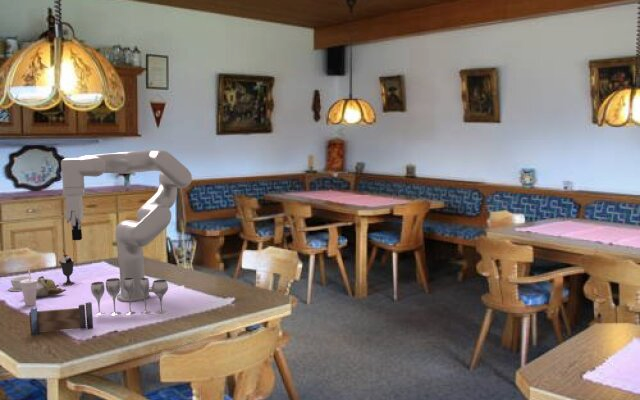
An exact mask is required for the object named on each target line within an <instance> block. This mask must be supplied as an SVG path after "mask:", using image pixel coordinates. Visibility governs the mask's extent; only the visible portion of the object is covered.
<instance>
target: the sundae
mask: <svg viewBox="0 0 640 400" xmlns="http://www.w3.org/2000/svg"><path fill="white" fill-rule="evenodd" d="M62 252H63V253H64V254H63V257H62V259H61V260H60V261H58V263H59V264H60V266H61V270H62V271H61V272H62V274H63V275H64V276H65V277H66V281H65V282H63V283H62V285H63V286H71V285H75V281H71V279H70V276H71V275H72V274H73V271H74V262H75V259H72V258H71V256H69V255H68V254H66V253H65V251H64V249H62Z"/></svg>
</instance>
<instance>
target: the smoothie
mask: <svg viewBox="0 0 640 400" xmlns="http://www.w3.org/2000/svg"><path fill="white" fill-rule="evenodd" d="M27 271H28V277H29V279H26V280H22V281H20V285H21V287H22V291H21V292H22V295H23V299H24V305H25V307H33V306H36V305H37V296H36V291H37V283H38V280H37V279H38V278H31V270H30V269H28V270H27ZM35 304H36V305H35Z"/></svg>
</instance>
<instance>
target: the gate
mask: <svg viewBox="0 0 640 400" xmlns="http://www.w3.org/2000/svg"><path fill="white" fill-rule="evenodd" d="M28 314H29V317H28V318H29V326H30V327H29V329H30V333H32V321H31V311H29V312H28ZM37 315H38V327H39V333H43V332H55V331H67V330H78V329H81V330H83V329H87V319H86V304H79V305H78V307H75V308H73V307H72V308H62V309H61V308H60V309H47V310H37Z"/></svg>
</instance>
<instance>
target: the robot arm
mask: <svg viewBox="0 0 640 400" xmlns="http://www.w3.org/2000/svg"><path fill="white" fill-rule="evenodd" d="M60 164H61V166H60V167H61V179H62V194H63V197H65V222H66V223H70V222H71V223H70V224H71V239H72V241H81V240H82V239H83V234H82V221H83V219H84V205H83V196H85V194H86V192H85V191H86V189H85V177H93V178H96V177H97V178H98V177H101V176H102V175H103V174H120V175H121V174H123V175H124V174H136V173H144V172H153V171H154V172H155V171H157V172H159V175H158V189H157V190H156V192H155V193H154V194H153V195H152V197H150V198H149V199H148V200H147V201H146V202H145V203H144V204H142V205H141V206H140V208H138V209H137V212H136V219H137V221H136V220H133V219H125V220H122V221H120V222H118V224H117V226H116V227H115V231H114V232H115V233H114V234H115V242H116V245H117V250H118V251H117V252H118V264H119V268H118V269H119V279H120V283H121V287H120V292H119V293H118V295H117V297H116V300H118V301H121V302H129V299H128V296H127V294H126V292H125V290H124V279H125V278H133V281H134V290H133V293H132V295H131V302H137V301H142V300H144V296H143V294H142V292H141V290H140V279H141V278H146V276H145V262H144V261H145V260H144V259H145V257H144V250H143V247H146V246H148V245H149V244H150V243H151V242H153V241H154V240H155V239H156V238H157V237H158V236H159V235H161V233H163V232H164V231H165V230H166V228H168V226H169V224H171V223H170V222H171V220H172V212H171V208H172V207H173V206H174V204H175V203H176V201H177V195H178V189H186V188H187V187H189V186H190V184H191V183H192V180H193V177H192V173H191V170H189V169H188V168H187V167H186V166H185V165H184V164H183V163H182V162H180V161H179V160H178V159H177V158H176V157H175V156H174V155H172V154H171V153H170V152H168V151H167V150H163V149H161V150H160V149H145V150H135V151H124V152H123V151H121V152H113V153H101V154H91V155H83V156H79V157H68V158H67V157H66V158H64V159H63V158H62V160H61V162H60ZM150 293H154V292H153V290H152V286H149V290H148V293H147V296H146V299H148V298H149V297H150Z"/></svg>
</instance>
